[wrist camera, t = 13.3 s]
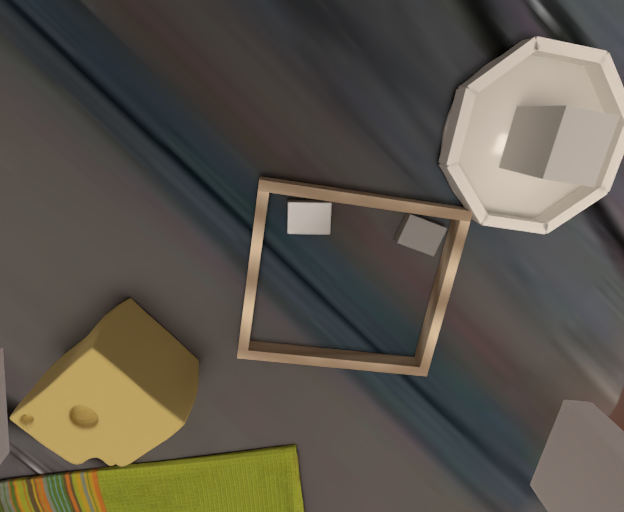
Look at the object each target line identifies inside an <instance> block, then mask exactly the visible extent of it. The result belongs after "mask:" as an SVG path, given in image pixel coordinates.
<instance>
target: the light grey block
mask: <svg viewBox="0 0 624 512" xmlns="http://www.w3.org/2000/svg"><path fill="white" fill-rule="evenodd" d="M331 205H332V203H331V201H324V200H290V199H288V210H287V234H330V224H331Z"/></svg>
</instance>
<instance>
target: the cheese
mask: <svg viewBox="0 0 624 512" xmlns="http://www.w3.org/2000/svg"><path fill="white" fill-rule="evenodd" d="M198 379H199V361H198V359H197V358H196V357H195V356H193V355H192V354H191V353H190V352H189V351H188V350H187V349H186V348H185V347H184V346H183V345H182V344H181V343H180V342H179V341H178V340H176V339H175V338H174V337H173V336H172V335H171V334H170V333H169V332H168V331H167V330H165V329H164V328H163V327H162V326H161V325H160V324H159V323H158V322H156V321H155V320H154V319H153V318H152V317H151V316H149V315H148V314H147V313H146V312H145V311H144V310H143V309H142V308H141V307H140V306H139V305H138V304H137V303H136V302H135V301H133V300H132V299H131V298H129V299H127V300H126V301H124V302H122V303H121V304H119V305H118V306H116V307H115V308H114V309H112V310H111V311H110V312H109V313H108V314H106V315H105V316H104V317H103V318H102V319H101V320H100V322H99V323H98V324H97V325H96V326H95V327H94V328H93V330H92V331H91V332H90V333H89V335H87V336H86V337H85V338H84V339H83V340H82V341H80V342H79V343H78V344H77V345H75V346H74V347H73V348H72V349H70V350H69V351H68V352H67V353H65V354H64V355H63V356H62V357H61V358H60V359H59V360H58V361H56V362H55V363H54V364H53V365H52V366H51V367H50V369H49V370H48V371H47V372H46V373H45V374H44V375H43V376H42V378H41V379H40V380H39V381H38V383H37V384H36V385H35V386H34V388H33V389H32V390H31V391H30V392H29V393H28V394H27V395H26V396H25V398H24V399H23V400H22V401H21V402H20V404H19V405H18V406H17V407H16V409H15V410H14V412H13V413H12V414H11V416H10V419H11V420H12V421H13V422H14V423H16V424H17V425H18V426H19V427H21V428H22V429H23V430H24V431H26V432H27V433H29V434H30V435H31V436H33V437H34V438H35V439H36V440H38V441H39V442H40V443H42V444H43V445H44V446H46V447H47V448H49V449H50V450H52V451H53V452H55V453H56V454H58V455H60V456H61V457H62V458H64V459H65V460H67V461H69V462H70V463H74V464H81V463H84V462H85V461H86V460H88V459H90V458H96V457H97V458H100V459H101V460H103V461H104V462H105V463H106V464H108V465H109V466H113V465H115V464H117V465H118V466H120V467H122V466H126V465H128V464H130V463H132V462H133V461H135V460H136V459H138V458H139V457H140V456H142V455H143V454H145V453H147V452H148V451H150V450H151V449H153V448H154V447H156V446H157V445H159V444H160V443H162V442H163V441H165V440H167V439H168V438H169V437H171V436H172V435H173V434H174V433H176V432H177V431H178V430H179V429H180V428H181V427H182V426H183V425H184V424H185V422H186V420H187V418H188V416H189V413H190V411H191V409H192V406H193V404H194V401H195V398H196V394H197V388H198Z"/></svg>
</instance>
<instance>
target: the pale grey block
mask: <svg viewBox="0 0 624 512" xmlns="http://www.w3.org/2000/svg"><path fill="white" fill-rule="evenodd" d="M619 118H620V116H618V115H613V114H608V113H603V112H597V111H592V110H587V109H582V108H577V107H571V106H517V107H516V110H515V114H514V117H513V121H512V124H511V127H510V131H509V134H508V138H507V141H506V144H505V148H504V151H503V155H502V158H501V161H500V165H499V168H502V169H506V170H510V171H514V172H518V173H521V174H525V175H529V176H533V177H537V178H541V179H546V180H552V181H558V182H564V183H570V184H576V185H582V186H588V187H595V184H596V181H597V178H598V176H599V173H600V170H601V167H602V165H603V162H604V159H605V156H606V154H607V151H608V148H609V146H610V143H611V140H612V137H613V135H614V132H615V129H616V126H617V124H618V121H619Z"/></svg>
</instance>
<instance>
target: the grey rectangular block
mask: <svg viewBox="0 0 624 512" xmlns="http://www.w3.org/2000/svg"><path fill="white" fill-rule="evenodd" d="M446 230H447V228H446V227H444V226H443V225H440V224H438V223H435V222H433V221H430V220H427V219H425V218H422V217H420V216H417V215H415V214H412V213H406V214H405V216H404V218H403V221H402V223H401V225H400V227H399V229H398V231H397V233H396V236H395V238H394V240H395V241H396V242H397V243H399V244H401V245H404V246H407V247H410V248H412V249H415V250H418V251H420V252H423V253H426V254H428V255H431V256H434V255H435V253H436V250H437V248H438V246H439V244H440V242H441V240H442V238H443V236H444V234H445V232H446Z"/></svg>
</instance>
